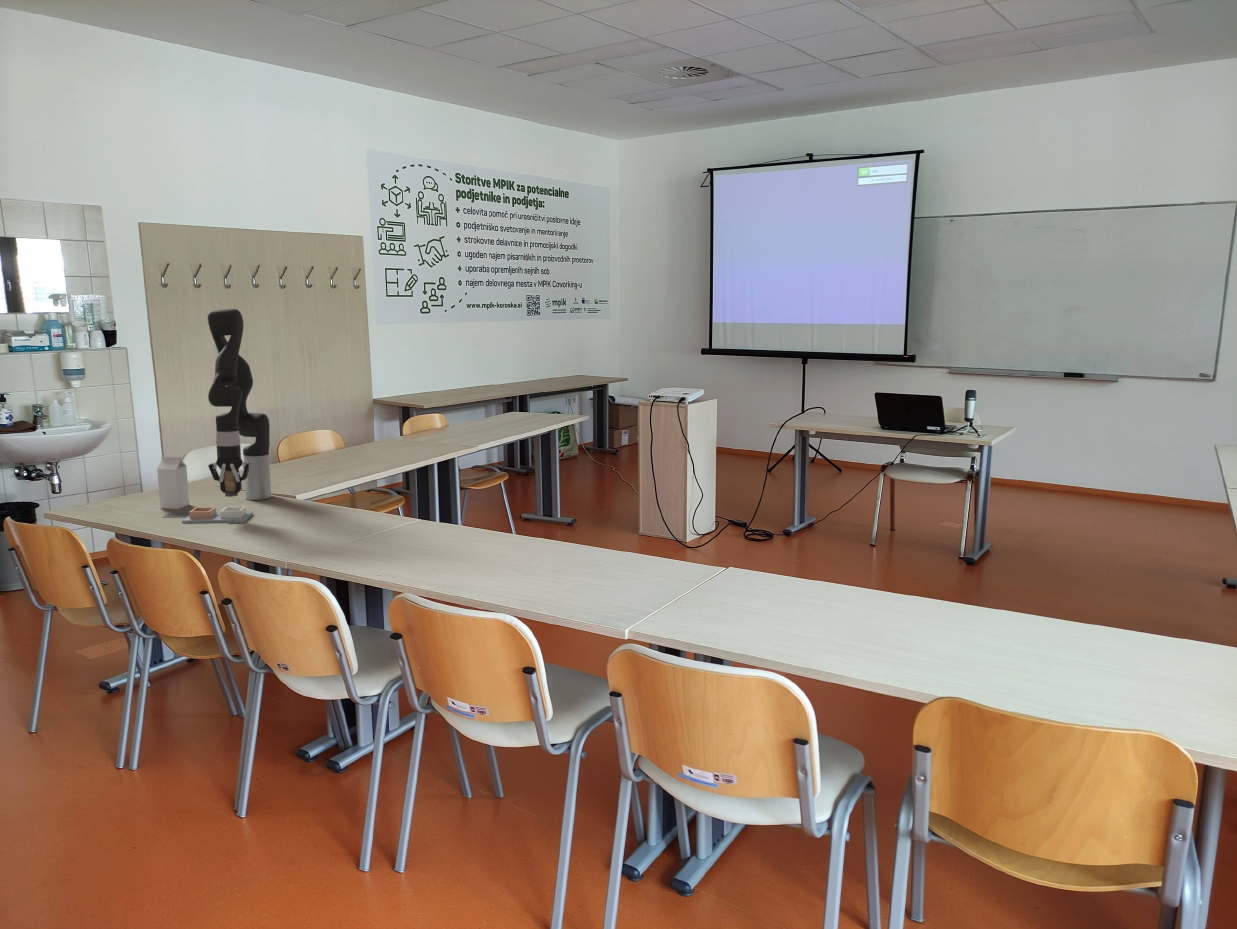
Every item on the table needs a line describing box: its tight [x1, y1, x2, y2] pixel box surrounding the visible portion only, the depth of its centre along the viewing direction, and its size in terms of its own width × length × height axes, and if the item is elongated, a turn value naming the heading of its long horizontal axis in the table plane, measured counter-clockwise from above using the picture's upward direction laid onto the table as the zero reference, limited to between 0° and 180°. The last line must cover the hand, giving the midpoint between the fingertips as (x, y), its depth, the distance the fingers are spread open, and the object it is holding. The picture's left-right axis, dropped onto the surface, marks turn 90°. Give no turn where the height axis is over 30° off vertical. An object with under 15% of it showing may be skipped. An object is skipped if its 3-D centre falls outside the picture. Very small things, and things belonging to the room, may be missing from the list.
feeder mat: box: [161, 510, 191, 519], centre depth 303 cm, size 9×9×1 cm
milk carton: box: [156, 456, 190, 510], centre depth 313 cm, size 7×7×19 cm
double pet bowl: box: [181, 506, 254, 524], centre depth 298 cm, size 12×20×4 cm, turn 99°
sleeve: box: [224, 471, 239, 498], centre depth 296 cm, size 4×4×9 cm
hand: (231, 491), depth 297 cm, fingers closed on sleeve, 4 cm apart
